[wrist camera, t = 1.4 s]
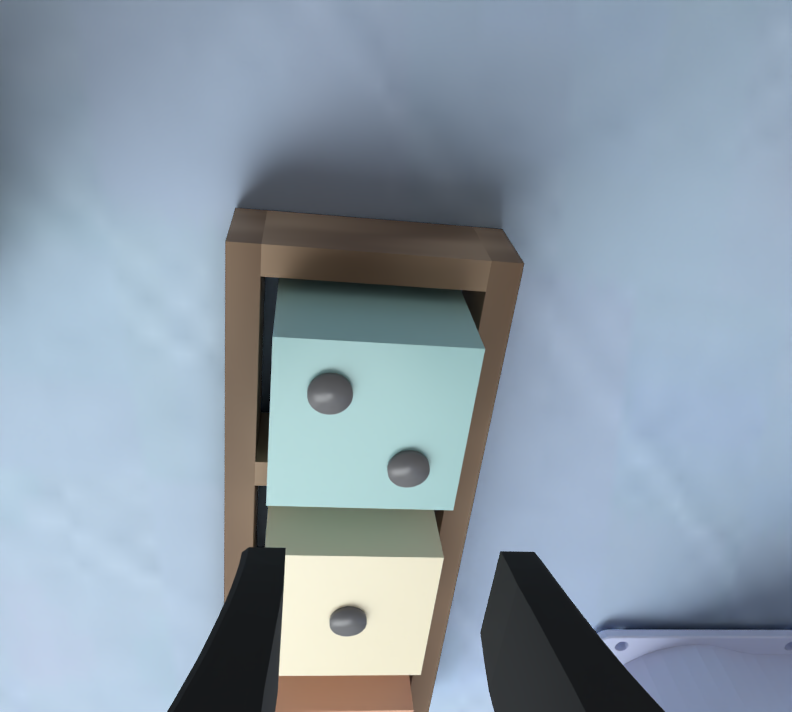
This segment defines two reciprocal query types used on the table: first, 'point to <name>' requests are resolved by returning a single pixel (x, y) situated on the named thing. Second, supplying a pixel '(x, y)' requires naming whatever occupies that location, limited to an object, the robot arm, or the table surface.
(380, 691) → the tile three
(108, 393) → the table surface
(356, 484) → the tile two
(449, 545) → the tile tray
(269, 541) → the tile one
